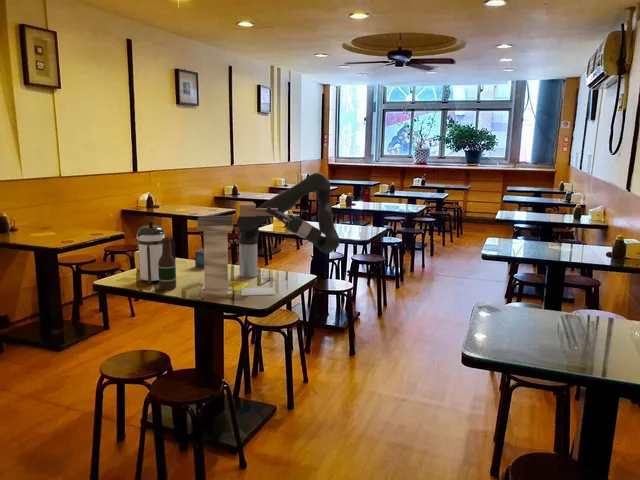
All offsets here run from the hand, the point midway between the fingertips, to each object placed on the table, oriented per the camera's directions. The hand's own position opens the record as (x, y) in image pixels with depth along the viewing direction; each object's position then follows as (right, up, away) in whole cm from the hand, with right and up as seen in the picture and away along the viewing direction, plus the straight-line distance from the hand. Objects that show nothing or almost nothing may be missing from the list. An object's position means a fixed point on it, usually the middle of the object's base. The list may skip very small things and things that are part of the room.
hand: (266, 208), depth 223 cm
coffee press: (-58, -34, +23) cm, 71 cm away
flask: (-41, -30, +50) cm, 72 cm away
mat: (-5, -38, +7) cm, 39 cm away
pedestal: (-23, -38, +4) cm, 45 cm away
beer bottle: (-48, -37, +9) cm, 61 cm away
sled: (-4, -3, 0) cm, 5 cm away
